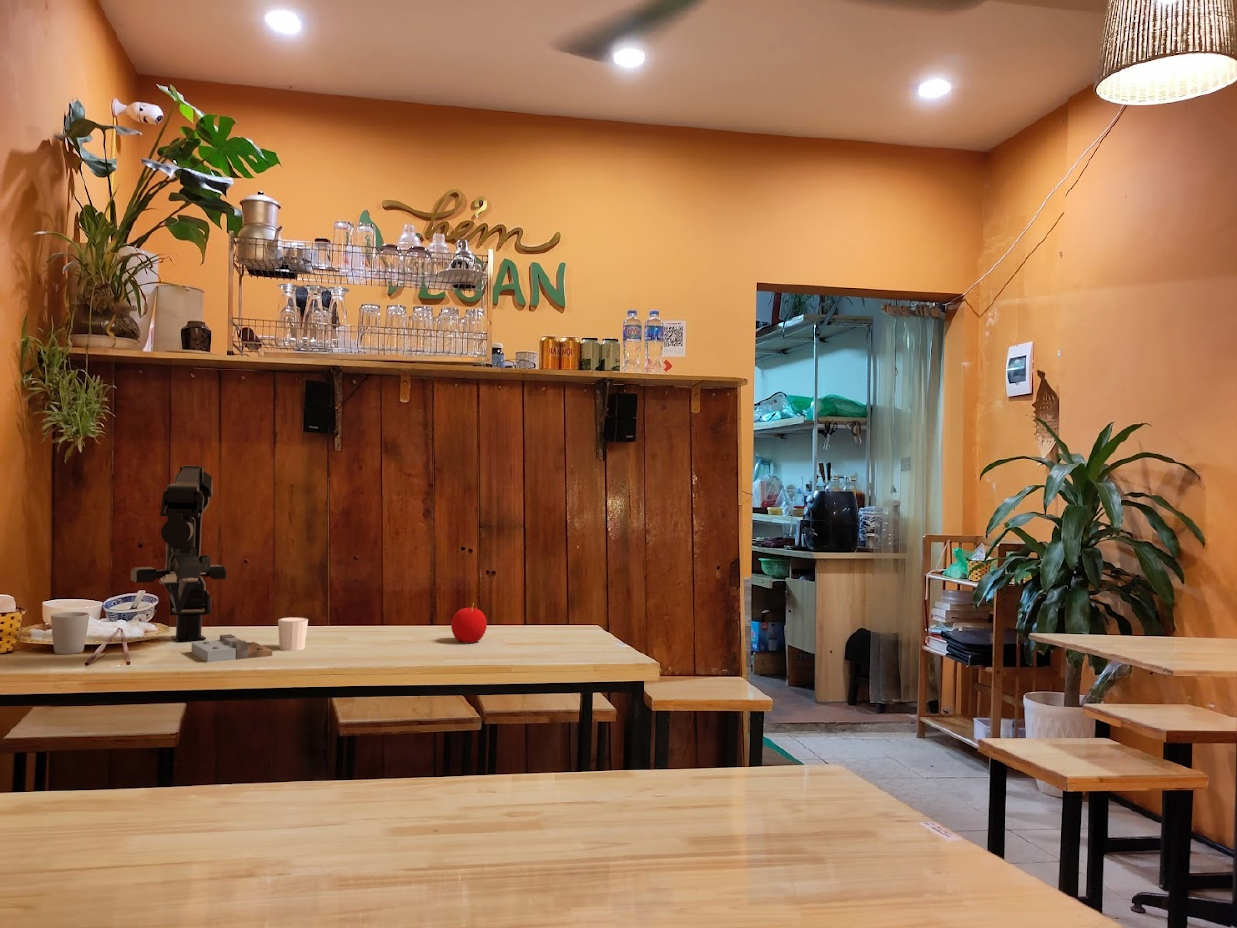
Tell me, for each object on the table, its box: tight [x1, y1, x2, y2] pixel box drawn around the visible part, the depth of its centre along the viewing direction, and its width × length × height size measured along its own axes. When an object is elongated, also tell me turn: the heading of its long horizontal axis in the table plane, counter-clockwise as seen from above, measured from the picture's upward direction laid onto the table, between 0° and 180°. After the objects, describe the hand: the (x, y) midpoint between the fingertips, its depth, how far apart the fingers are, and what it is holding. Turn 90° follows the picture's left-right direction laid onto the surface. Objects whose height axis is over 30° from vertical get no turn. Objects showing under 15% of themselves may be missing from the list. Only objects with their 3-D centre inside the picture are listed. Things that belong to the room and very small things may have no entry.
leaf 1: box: [191, 636, 242, 663], centre depth 215 cm, size 8×12×4 cm
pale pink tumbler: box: [277, 616, 309, 652], centre depth 226 cm, size 7×7×7 cm
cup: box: [50, 611, 90, 655], centre depth 214 cm, size 8×10×8 cm
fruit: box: [451, 602, 488, 644], centre depth 243 cm, size 9×9×10 cm
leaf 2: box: [219, 633, 273, 660], centre depth 219 cm, size 8×12×4 cm, turn 40°
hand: (178, 612), depth 209 cm, fingers closed
